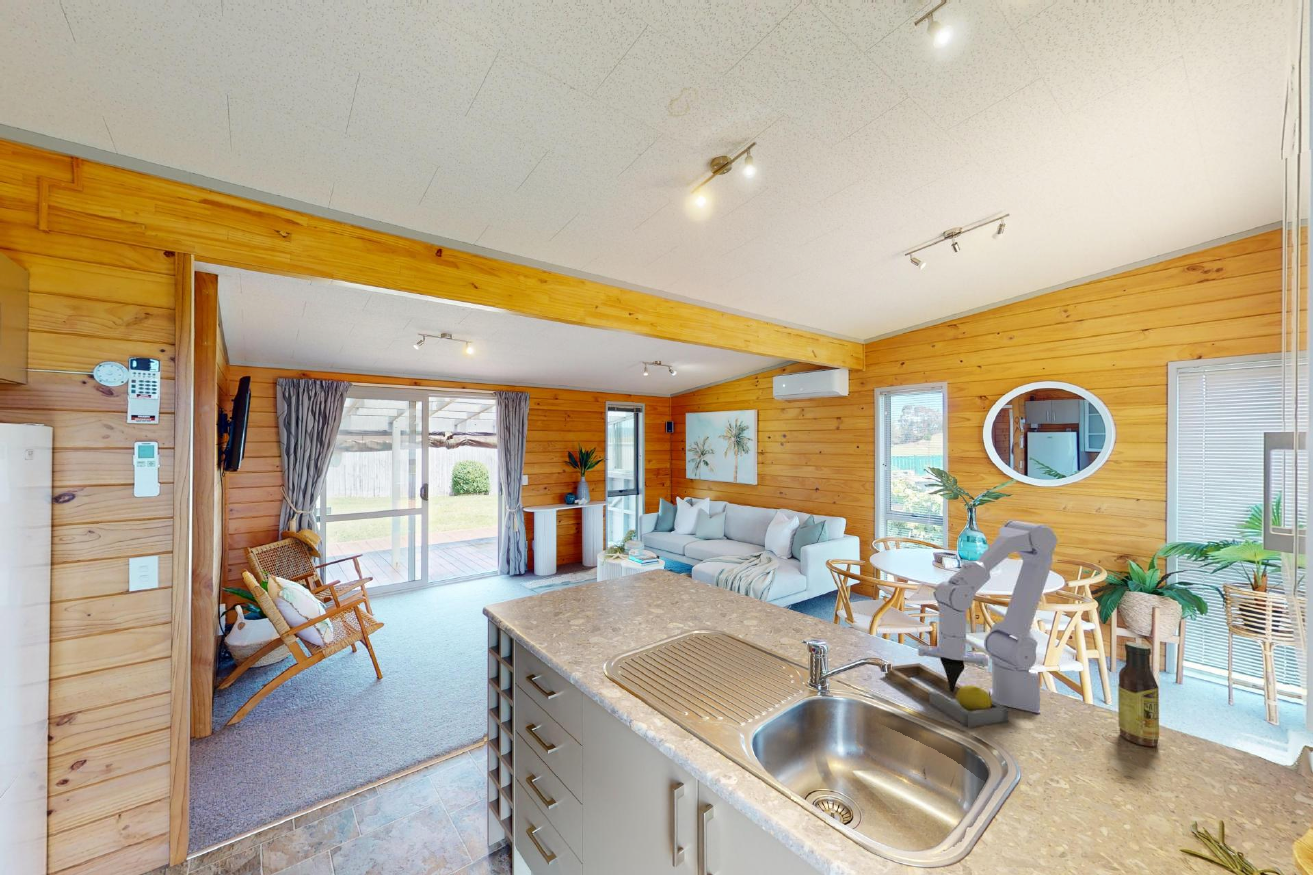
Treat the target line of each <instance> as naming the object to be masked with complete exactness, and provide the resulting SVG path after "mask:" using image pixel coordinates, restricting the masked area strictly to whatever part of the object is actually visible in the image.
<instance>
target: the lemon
mask: <svg viewBox="0 0 1313 875" xmlns="http://www.w3.org/2000/svg"><path fill="white" fill-rule="evenodd" d="M955 699H957V700H958V702H959V703H960V705H961V706H962V707H963V708H965V709H966V710H968V711H976V710H983V709H989V708H990V707H991V704H992V700H991V696H990V694H989V693H988V692H987V691H986V690H984V689H983V688H981V687H978V686H975V685H964V686H962V687H961V688H960V689H959V690H958V692H957V695H956V696H955Z"/></svg>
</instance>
